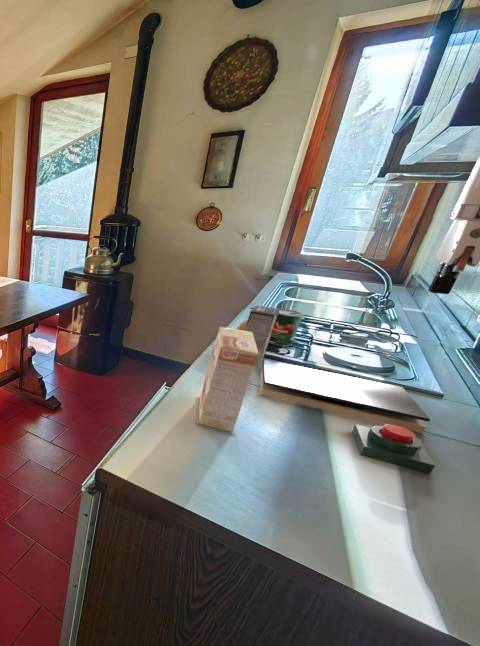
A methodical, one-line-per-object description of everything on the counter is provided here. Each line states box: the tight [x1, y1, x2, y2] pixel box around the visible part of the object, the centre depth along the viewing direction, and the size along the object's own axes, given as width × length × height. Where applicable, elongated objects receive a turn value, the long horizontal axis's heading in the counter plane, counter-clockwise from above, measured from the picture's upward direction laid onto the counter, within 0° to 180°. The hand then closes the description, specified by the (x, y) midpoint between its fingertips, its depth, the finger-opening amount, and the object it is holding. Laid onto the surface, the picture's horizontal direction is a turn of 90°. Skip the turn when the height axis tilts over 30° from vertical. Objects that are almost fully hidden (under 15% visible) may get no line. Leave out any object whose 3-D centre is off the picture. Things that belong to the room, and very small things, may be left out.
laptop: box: [259, 361, 427, 434], centre depth 102 cm, size 21×30×2 cm
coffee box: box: [245, 305, 281, 365], centre depth 122 cm, size 9×6×16 cm
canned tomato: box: [268, 308, 304, 347], centre depth 135 cm, size 8×8×11 cm
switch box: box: [351, 423, 436, 475], centre depth 80 cm, size 10×10×4 cm
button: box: [381, 424, 416, 443], centre depth 79 cm, size 4×4×2 cm
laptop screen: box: [262, 358, 431, 422], centre depth 102 cm, size 21×30×1 cm
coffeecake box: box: [198, 326, 259, 433], centre depth 90 cm, size 15×7×20 cm, turn 150°
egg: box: [236, 319, 248, 331], centre depth 133 cm, size 7×7×9 cm
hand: (438, 292), depth 95 cm, fingers closed
